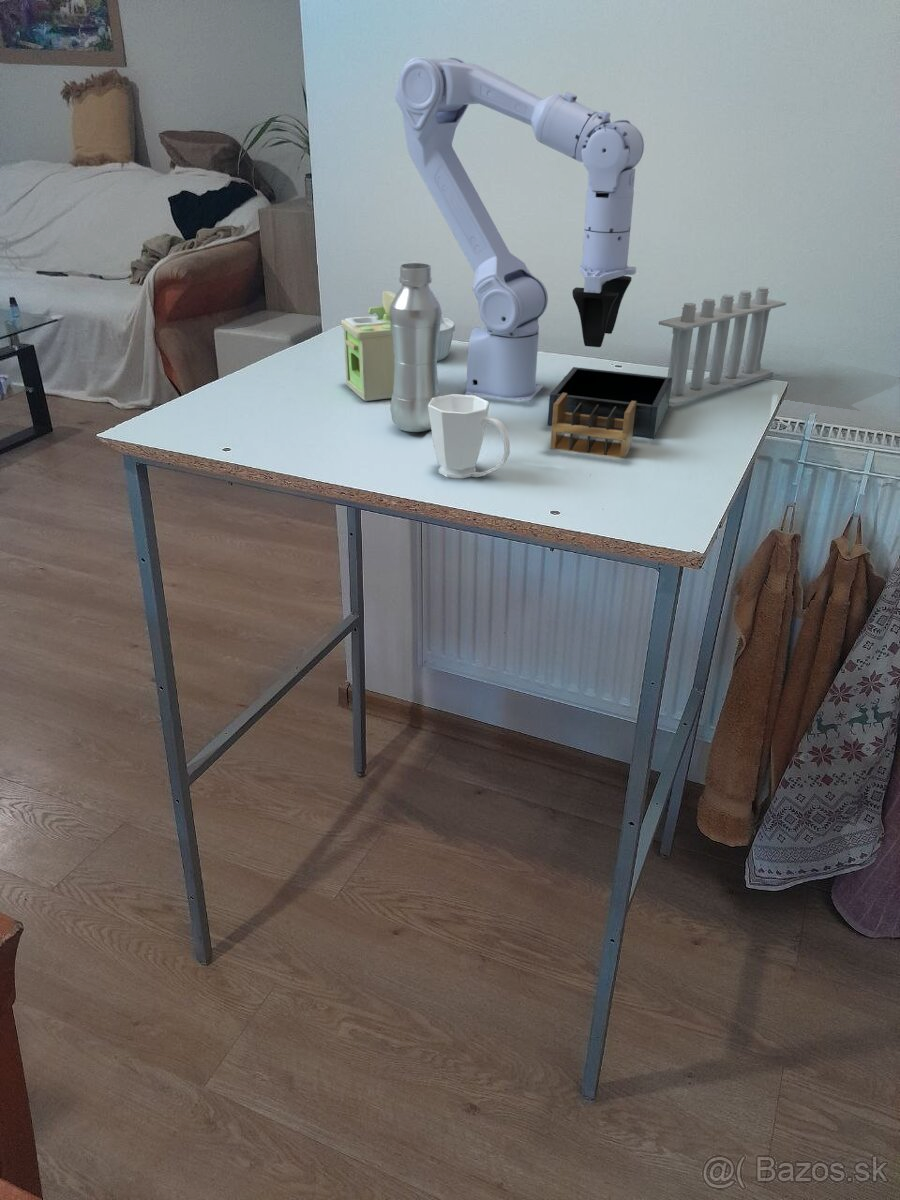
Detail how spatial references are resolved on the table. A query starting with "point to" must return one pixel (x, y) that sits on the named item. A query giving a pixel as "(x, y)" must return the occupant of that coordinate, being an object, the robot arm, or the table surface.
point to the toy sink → (370, 352)
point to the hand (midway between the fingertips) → (598, 339)
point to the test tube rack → (719, 344)
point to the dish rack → (591, 430)
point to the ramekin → (445, 337)
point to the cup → (461, 433)
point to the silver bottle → (414, 348)
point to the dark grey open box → (616, 396)
